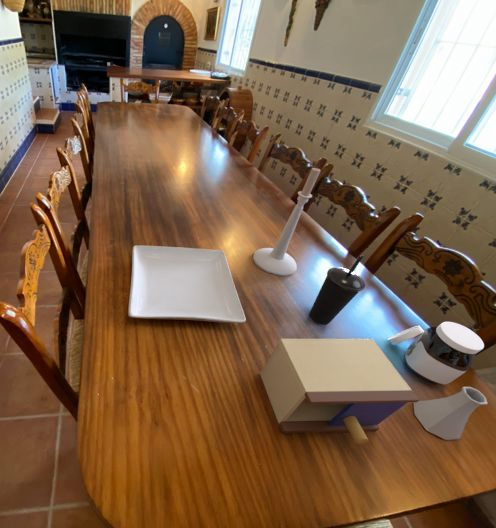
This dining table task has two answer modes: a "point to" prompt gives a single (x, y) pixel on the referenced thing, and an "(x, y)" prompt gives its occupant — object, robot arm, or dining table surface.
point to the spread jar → (439, 351)
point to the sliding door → (363, 417)
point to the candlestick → (285, 237)
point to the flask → (449, 412)
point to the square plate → (183, 285)
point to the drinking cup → (336, 293)
